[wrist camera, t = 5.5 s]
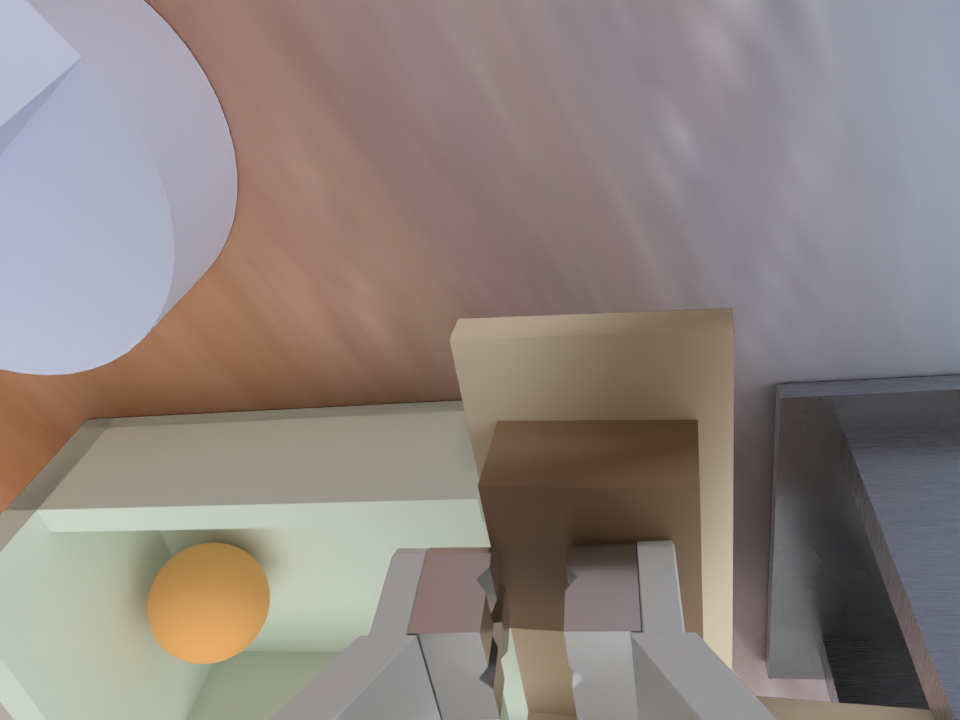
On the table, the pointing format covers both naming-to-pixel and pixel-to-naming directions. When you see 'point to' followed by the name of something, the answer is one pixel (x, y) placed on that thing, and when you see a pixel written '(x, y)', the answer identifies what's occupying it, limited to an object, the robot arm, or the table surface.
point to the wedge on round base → (102, 180)
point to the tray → (232, 520)
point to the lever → (609, 471)
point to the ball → (208, 603)
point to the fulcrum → (868, 541)
